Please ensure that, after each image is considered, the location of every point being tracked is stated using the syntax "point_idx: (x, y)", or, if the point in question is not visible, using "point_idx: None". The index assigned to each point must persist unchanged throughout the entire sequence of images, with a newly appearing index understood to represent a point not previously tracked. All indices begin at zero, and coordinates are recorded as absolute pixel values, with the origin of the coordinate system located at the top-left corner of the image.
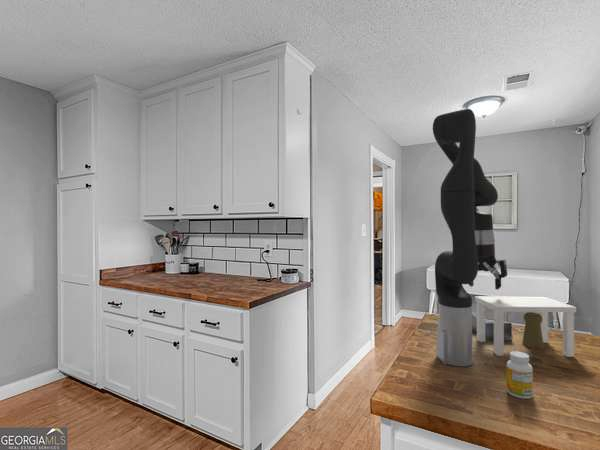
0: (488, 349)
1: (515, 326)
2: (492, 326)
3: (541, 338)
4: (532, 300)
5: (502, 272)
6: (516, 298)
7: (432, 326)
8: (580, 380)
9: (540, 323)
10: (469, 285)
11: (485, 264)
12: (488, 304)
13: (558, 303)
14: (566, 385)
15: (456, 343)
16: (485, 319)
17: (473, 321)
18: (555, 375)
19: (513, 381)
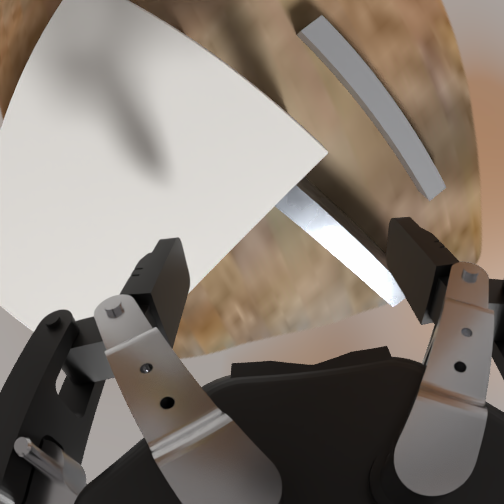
0: (213, 51)
1: (258, 330)
2: None
3: None
4: (69, 291)
5: (39, 352)
6: (124, 284)
7: (453, 149)
8: (7, 72)
9: None
10: (409, 217)
11: (220, 468)
12: (155, 16)
13: (14, 302)
14: (14, 22)
15: None
16: (292, 211)
17: (346, 223)
18: (35, 45)
19: None
